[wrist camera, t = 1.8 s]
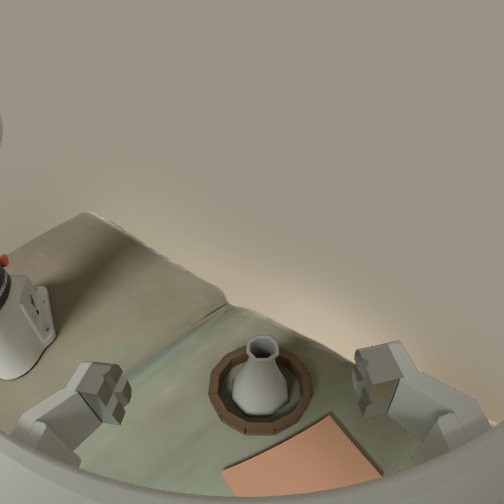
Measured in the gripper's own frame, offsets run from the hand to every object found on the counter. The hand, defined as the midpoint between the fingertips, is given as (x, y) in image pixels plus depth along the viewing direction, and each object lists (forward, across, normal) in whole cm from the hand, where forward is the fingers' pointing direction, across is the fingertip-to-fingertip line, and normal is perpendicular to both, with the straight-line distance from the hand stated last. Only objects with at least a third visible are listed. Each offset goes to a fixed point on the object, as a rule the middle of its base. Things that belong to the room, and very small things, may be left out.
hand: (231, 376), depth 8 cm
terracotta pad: (+4, -3, +24) cm, 25 cm away
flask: (+16, +1, +21) cm, 27 cm away
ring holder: (+16, +1, +21) cm, 26 cm away
